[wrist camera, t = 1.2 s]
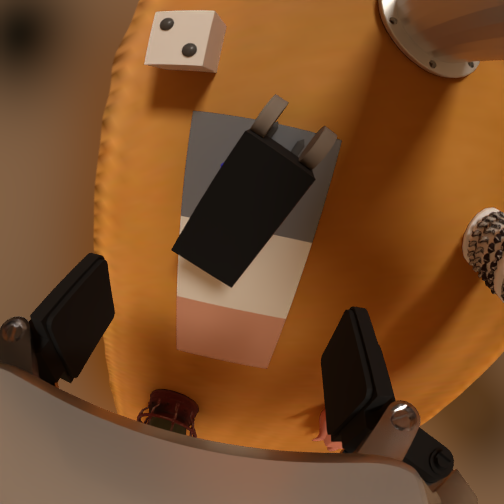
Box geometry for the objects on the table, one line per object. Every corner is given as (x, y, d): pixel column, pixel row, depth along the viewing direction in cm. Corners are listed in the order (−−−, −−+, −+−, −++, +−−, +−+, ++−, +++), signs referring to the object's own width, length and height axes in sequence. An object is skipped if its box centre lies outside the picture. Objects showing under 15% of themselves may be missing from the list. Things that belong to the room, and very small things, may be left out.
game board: (194, 110, 23) (193, 110, 23) (341, 140, 23) (341, 140, 23) (177, 348, 40) (176, 349, 40) (267, 367, 40) (266, 368, 40)
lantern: (192, 420, 54) (164, 535, 28) (142, 400, 52) (103, 514, 26) (211, 403, 48) (182, 542, 22) (153, 378, 46) (104, 519, 20)
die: (176, 25, 19) (155, 11, 15) (226, 26, 19) (214, 10, 15) (167, 69, 21) (143, 64, 17) (216, 73, 21) (202, 65, 17)
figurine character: (267, 97, 23) (187, 224, 29) (269, 82, 16) (164, 254, 22) (326, 136, 25) (242, 256, 30) (350, 138, 18) (236, 296, 23)
